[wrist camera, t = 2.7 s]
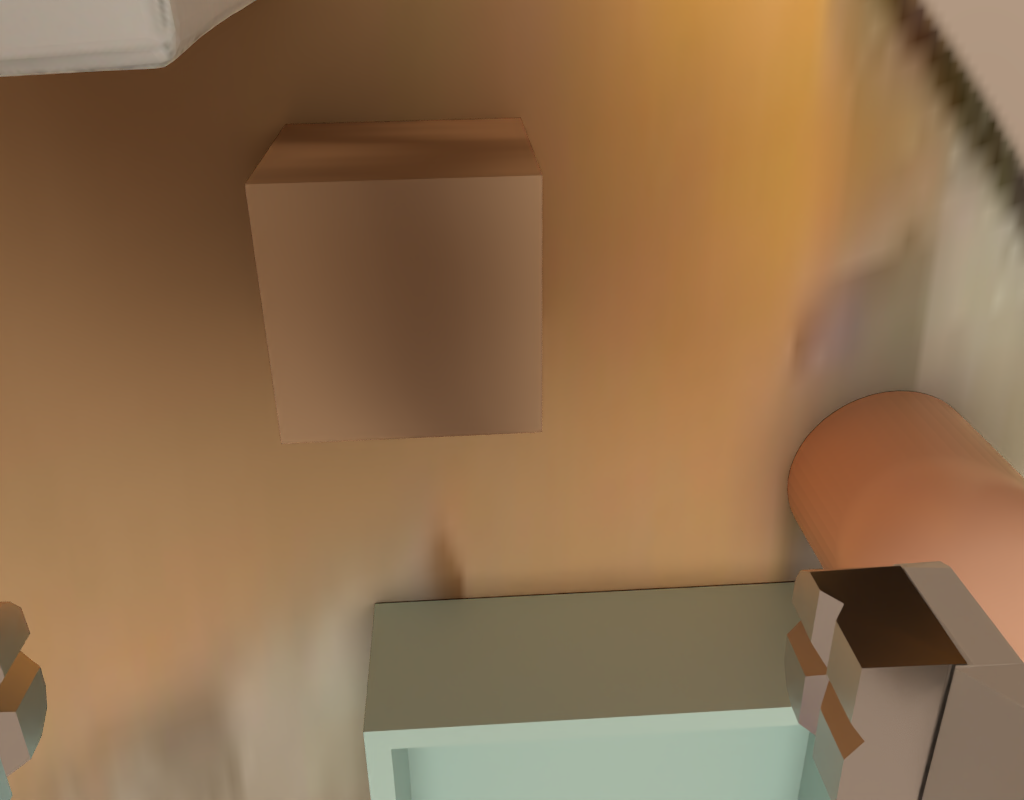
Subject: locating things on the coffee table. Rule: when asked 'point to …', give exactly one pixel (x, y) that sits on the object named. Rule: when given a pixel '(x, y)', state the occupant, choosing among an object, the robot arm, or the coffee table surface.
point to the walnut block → (401, 278)
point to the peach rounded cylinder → (914, 498)
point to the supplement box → (102, 33)
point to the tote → (588, 698)
